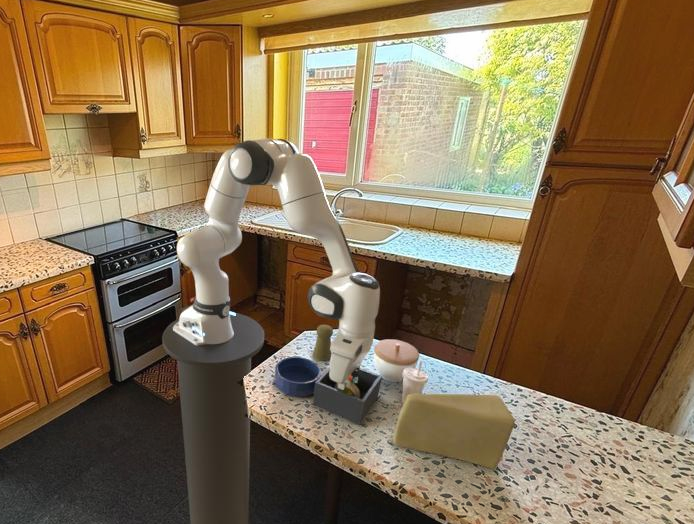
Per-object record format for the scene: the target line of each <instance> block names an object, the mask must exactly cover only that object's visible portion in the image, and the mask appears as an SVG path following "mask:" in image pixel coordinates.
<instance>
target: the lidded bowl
mask: <svg viewBox="0 0 694 524" xmlns="http://www.w3.org/2000/svg"><path fill="white" fill-rule="evenodd" d="M419 359H420V352H419V350H418V349H417V348H416V347H415V346H414V345H412V344H410V343H408V342H405V341H403V340H399V339H391V338H390V339H389V338H388V339H382V340H379V341H377V342H376V343H375V344H374V347H373V365H374V368H375V370H376V372H377V374H378V375H380V376H382V379H384V380H385V381H388V382H391V383H399V382H403V378H404V377H403V371H404V370H405V369H407V368H417V364H418V361H419Z"/></svg>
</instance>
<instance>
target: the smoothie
mask: <svg viewBox="0 0 694 524" xmlns="http://www.w3.org/2000/svg"><path fill="white" fill-rule="evenodd" d="M422 365H423V361H422V360H420V361H419V364H418V368H417V367H415V368H407V369H405V370H404V371H403V377H404V378H403V380H402V392H401V393H402V395H401V403H402V405H403V404H404V402H405V399H406V397H407V396H408V395H409V394H422V392H423V390H424V388H425V385H426V384H427V383H428V382H429V375H428V373H427V372H426V371H424V370H422V369H421V368H422Z"/></svg>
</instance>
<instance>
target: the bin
mask: <svg viewBox="0 0 694 524" xmlns="http://www.w3.org/2000/svg"><path fill="white" fill-rule="evenodd" d="M329 372H330V366H329V367H327V369H326V370H324V372H323V373H322V374H321V377H320V378H319V379H318V380H317V381H316V382H315V389H314V394H313V400H312V405H313V406H315V407H318V408H319V409H322V410H324V411H327V412H329V413H331V414H333V415H336V416H338V417H340V418H342V419H345V420H346V421H349V422H352V423H353V424H356V425H358V426H361V425H362V423H363V421H364V420H365V418H366V416H368V414H369V412H370V411H371V409H372V408H373V406H374V404H375V403H376V402H377V400H378V398H379V394H380V388H381V383H382V379H383V378H382V376H380V374H379V373H375V372H372V371H370V370H366V369H364V368H361V367H360V370H359V371H358V372H357V373H356V372H352V374H351V375H352V376H353V377H358V383H354V384H355V385H356V386H357V388H358V389H359V392H360V399H359V398H357V397H354V395H353V396H352V395H349V394H347V393H345V392H342V391H340V390H337V389H335V385H336V384H337V382H335V381H332V380H331V379H330V376H329Z"/></svg>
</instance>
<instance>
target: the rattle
mask: <svg viewBox="0 0 694 524" xmlns="http://www.w3.org/2000/svg"><path fill="white" fill-rule="evenodd" d="M346 382H347V385H346V388H345V389H344V390H342V389H339V388H338V383H337V384H336V385H335V389H337V390H340V391H342V392H345V393H347V394H349V395H352V396H353V395H354V397H357V398H359V399H360V392H359V389H358V388H357V386H356V385H355V384H354V383H358V377H353V376H352V375H350V376H349V377H348V379H347V380H346Z"/></svg>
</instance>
